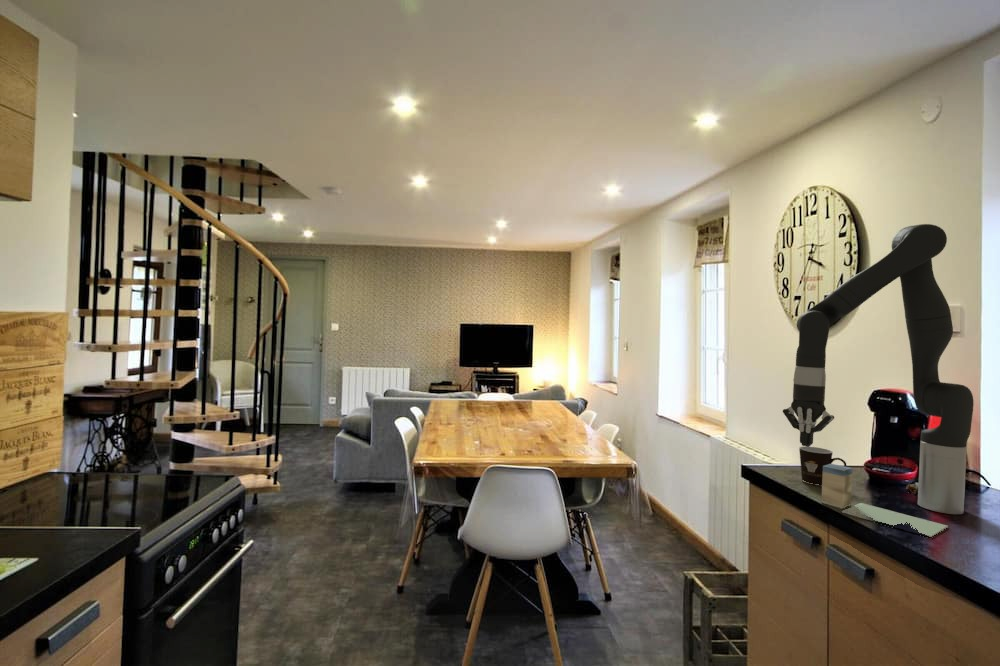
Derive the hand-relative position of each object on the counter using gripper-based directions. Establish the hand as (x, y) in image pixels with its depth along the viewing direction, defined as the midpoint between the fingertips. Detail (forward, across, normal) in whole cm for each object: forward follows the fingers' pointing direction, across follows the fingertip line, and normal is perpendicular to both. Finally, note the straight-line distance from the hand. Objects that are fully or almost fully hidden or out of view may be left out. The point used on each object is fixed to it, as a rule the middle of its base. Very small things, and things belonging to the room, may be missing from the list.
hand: (805, 445), depth 141 cm
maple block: (+14, -8, 0) cm, 16 cm away
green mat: (+14, -20, 0) cm, 25 cm away
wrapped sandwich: (+14, -19, -35) cm, 42 cm away
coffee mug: (+14, +3, -16) cm, 22 cm away
